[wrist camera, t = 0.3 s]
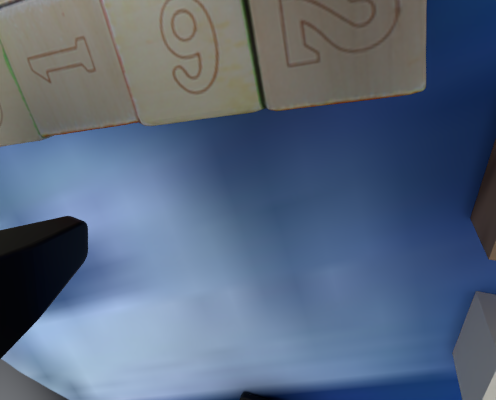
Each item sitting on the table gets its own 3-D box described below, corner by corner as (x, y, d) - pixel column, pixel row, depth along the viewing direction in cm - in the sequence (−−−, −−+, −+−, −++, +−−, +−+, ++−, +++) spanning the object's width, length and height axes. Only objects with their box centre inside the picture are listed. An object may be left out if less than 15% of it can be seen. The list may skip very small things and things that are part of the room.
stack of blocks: (46, 104, 24) (-203, 176, 14) (4, -3, 22) (-337, -13, 11) (399, 43, 17) (433, 98, 7) (395, -129, 15) (439, -484, 4)
